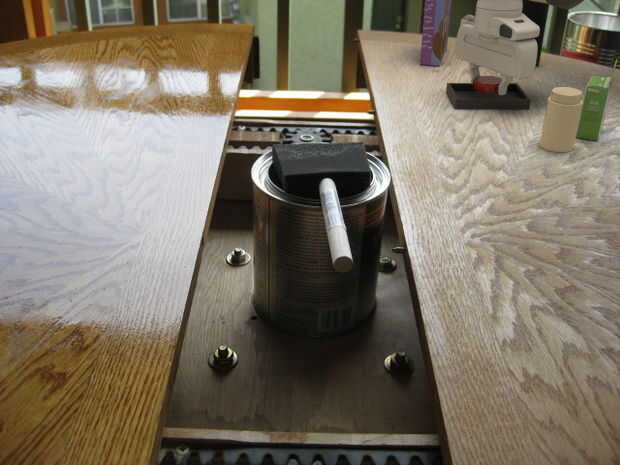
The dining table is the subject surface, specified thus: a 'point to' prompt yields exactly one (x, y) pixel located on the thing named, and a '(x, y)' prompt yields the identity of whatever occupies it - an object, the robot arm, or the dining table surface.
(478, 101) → the tray
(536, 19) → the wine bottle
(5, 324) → the dining table surface
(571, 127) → the jar
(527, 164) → the dining table surface
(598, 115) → the ink box
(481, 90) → the jar lid
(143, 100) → the dining table surface
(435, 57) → the cereal box
